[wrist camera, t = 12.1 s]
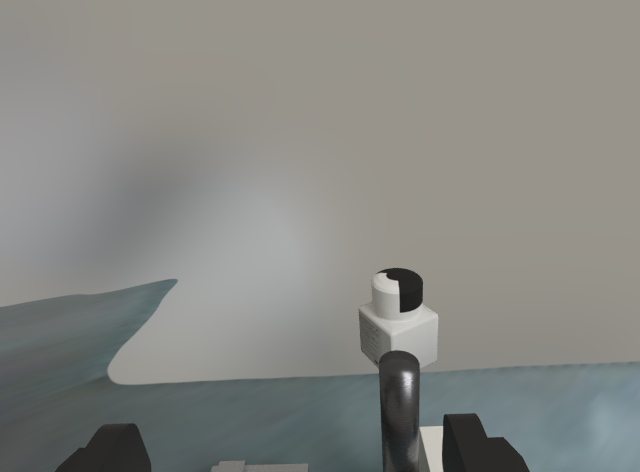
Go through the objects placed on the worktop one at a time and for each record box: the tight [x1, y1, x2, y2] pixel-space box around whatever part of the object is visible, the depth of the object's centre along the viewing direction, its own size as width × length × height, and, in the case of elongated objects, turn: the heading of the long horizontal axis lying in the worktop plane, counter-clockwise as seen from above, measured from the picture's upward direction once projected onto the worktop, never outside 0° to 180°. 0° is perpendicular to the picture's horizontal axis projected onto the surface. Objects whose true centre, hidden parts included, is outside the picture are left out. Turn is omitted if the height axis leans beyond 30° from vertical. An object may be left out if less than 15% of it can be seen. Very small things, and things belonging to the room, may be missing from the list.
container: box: [359, 268, 438, 369], centre depth 51 cm, size 8×8×13 cm
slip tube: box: [379, 350, 420, 472], centre depth 29 cm, size 16×3×17 cm, turn 88°
